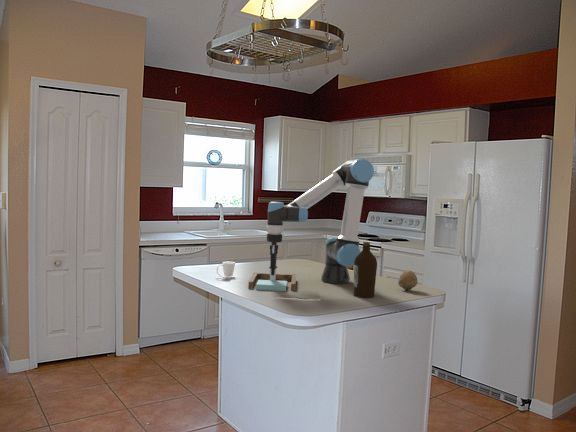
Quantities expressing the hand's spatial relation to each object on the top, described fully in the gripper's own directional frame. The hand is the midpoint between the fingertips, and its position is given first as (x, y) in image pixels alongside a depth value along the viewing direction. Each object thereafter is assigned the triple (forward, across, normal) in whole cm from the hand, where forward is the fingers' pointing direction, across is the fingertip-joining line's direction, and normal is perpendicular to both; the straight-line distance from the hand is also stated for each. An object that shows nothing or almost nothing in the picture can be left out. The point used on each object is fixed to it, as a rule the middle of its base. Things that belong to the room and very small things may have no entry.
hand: (272, 281), depth 252 cm
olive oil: (+3, +11, +43) cm, 45 cm away
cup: (+3, -18, -26) cm, 32 cm away
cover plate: (+2, +7, 0) cm, 7 cm away
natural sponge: (+3, -6, +67) cm, 68 cm away
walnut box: (+3, -2, 0) cm, 3 cm away
